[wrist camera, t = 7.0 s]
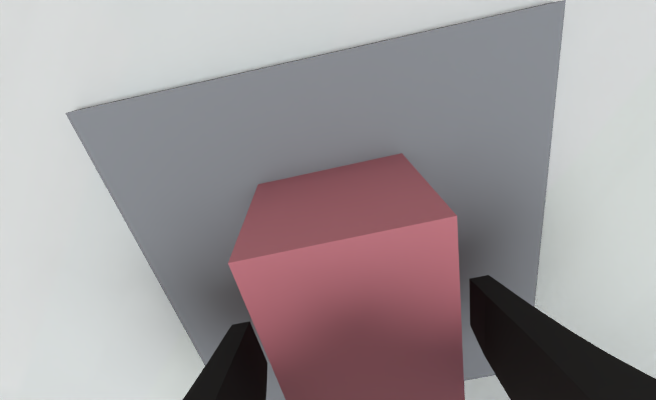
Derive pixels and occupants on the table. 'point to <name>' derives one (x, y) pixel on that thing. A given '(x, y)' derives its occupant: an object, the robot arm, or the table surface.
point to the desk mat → (341, 155)
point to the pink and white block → (355, 283)
